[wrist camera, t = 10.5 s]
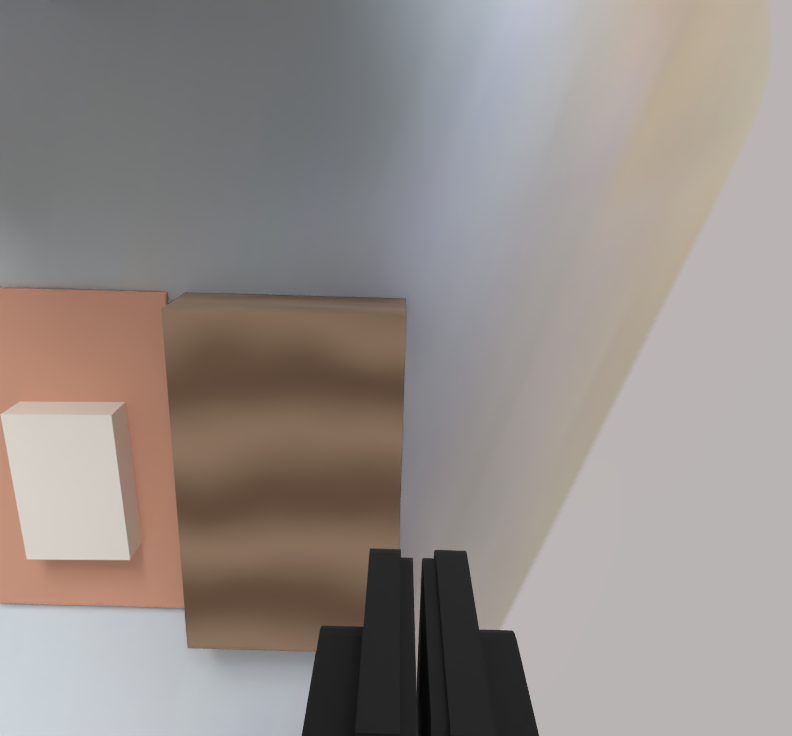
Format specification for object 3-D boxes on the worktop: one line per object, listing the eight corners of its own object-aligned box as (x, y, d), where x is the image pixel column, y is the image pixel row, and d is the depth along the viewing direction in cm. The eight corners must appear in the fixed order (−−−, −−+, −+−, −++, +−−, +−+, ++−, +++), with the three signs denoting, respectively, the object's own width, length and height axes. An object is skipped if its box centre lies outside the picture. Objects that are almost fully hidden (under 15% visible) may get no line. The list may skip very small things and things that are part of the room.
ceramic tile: (111, 415, 37) (125, 401, 39) (0, 414, 37) (19, 401, 39) (130, 560, 40) (142, 541, 42) (26, 559, 40) (43, 540, 42)
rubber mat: (-54, 285, 38) (-58, 287, 37) (167, 292, 38) (164, 293, 37) (0, 599, 44) (-4, 603, 43) (190, 604, 44) (188, 608, 43)
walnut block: (185, 292, 38) (161, 308, 34) (405, 298, 38) (406, 315, 34) (206, 604, 44) (187, 648, 40) (396, 609, 44) (395, 653, 40)
